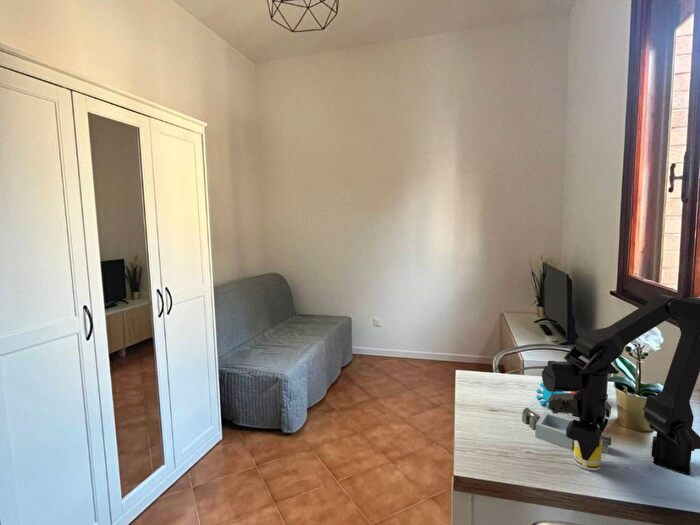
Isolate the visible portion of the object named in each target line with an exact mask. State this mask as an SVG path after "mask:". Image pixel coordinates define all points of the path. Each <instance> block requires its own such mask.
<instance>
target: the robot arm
mask: <svg viewBox="0 0 700 525" xmlns="http://www.w3.org/2000/svg"><path fill="white" fill-rule="evenodd" d="M674 316H676V317H677V318H676V320H677V324H678V327H679V331H680V336H679V340H678V342H677V345H676V348H675V351H674V354H673V357H672V361H671V364H670V366H669V369H668V372H667V375H666V378H665V381H664V384H663V387H662V389H661V391H660V392H659V393H657V394H656V395H654V396H653V395H651V394H648V395H647V397H646V400H645V404H644V406H643V407H642V411H643V417H644V418H645V420H646V422H647V423H648V426H649V428H650V429H651V430H652V431H654V432H656V435H653V437H652V443H651V444H652V445H651V453H650V454H651V455H650V456H651V457H652V458H653V461H652V463H653V464H655V465H657V466H660V467H663V468H666V469H668V470H671V471H675V472H678V473H680V474H684V475H687V476H691V473H692V472H691V459H692V452H694V451H695V450H700V435H699V434H698V433H697V432H696V431H695V430H694V429H693V425H694V424H693V422H694V420H695V419H694V413H693V410H692V407H691V403H690V401H691V397H692V395H693V392H694V389H695V387H696V384H697V381H698V379H699V376H700V297H699V296H698V297H697V296H690V297H687V298H686V299H685V298H679V297H675V296H670V295H667V294H657V295H655V296H654V297H652V298H651V300H650V301H648V302H647V303H645V304H643V305H642V306H640V307H638V308H637V309H635V310H634V311H632V312H631V313H629V314H627V315H626V316H624V317H622V318H620V319H619V320H617V321H616V322H614V323H613V324H611V325H609V326H606V327H601V328H596V329H592V330H590V331H588V332H585V333H583V334H581V335H579V336H578V337H577V338H576V340H575V344H574V345H573V346H572V347H571V348H570V350H569V351H568V352H567V353H566V355H565V356H563V359H564V360H565V361H560V360H559V361H557V360H548V361H547V365H545V366H544V367H543V369H542V371H541V381H542V383H543V384H544V386H545V388H546V389H547V390H548V391H549V392H564V393H559V394H552V395H551V396H550V398H549V399H548V401H549V402H548V404H549V406H548V409H549V410H551V412H552V413H551V414H555V415H559V414H560V413H562V414H566V413H571V416H572V417H575V418H578V420H577V419H571V420H572V421H570V422H569V424H568V426H567V428H566V437H568V438H570V439H573V440H576V441H578V444H579V447H580V452H581V456H582V459H584V460H586V461H588V460H589V458H590V457H591V455H592V454H593V452H594V451H595V449H596V448H597V447H599V446H600V443H601V440H602V435H603V433H604V431H605V429H606V427H607V425H608V423H609V419H610V417H611V414H612V406H611V404H610V403H609V402H608V399H609V398H608V397H609V394H608V382H609V375H610V374H611V375H613V374H614V375H618V374H619V373H620V371H619V370H618V369H617V368H616V367H615V366H614V365H613V364H612V363H613V362H615V361H616V360H617V359H618V358H619V357H620V356H621V355H622V354H623V353H624V350H625V348H626V346H628V345H629V344H630V343H631V342H633V341H634V340H636V339H638V338H640V337H641V336H643V335H644V334H647V333H648V332H650V331H651V330H653V329H654V328H656V327H658V326H659V325H661V324H662V323H664V322H666V321H667V320H669V319H671V318H672V317H674ZM580 357H581V358H584V359H585V360H587V361H588V362H586V361H585V360H583V359H581V358H580ZM571 391H577V392H576V393H571ZM591 424H592V425H591ZM597 425H599V428H598V426H597Z"/></svg>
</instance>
